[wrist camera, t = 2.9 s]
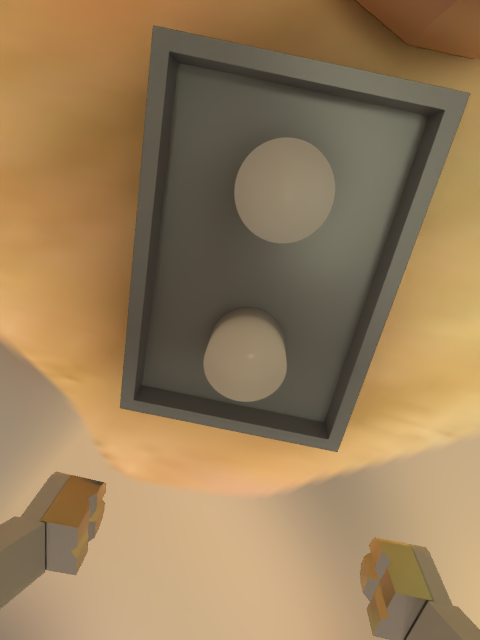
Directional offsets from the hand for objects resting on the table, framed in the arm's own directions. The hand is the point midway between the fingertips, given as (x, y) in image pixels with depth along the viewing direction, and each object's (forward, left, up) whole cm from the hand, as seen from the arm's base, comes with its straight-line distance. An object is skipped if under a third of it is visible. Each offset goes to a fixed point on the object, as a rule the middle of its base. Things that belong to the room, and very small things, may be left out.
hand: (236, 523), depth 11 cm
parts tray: (0, +5, -14) cm, 14 cm away
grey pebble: (0, +9, -13) cm, 16 cm away
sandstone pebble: (0, 0, -13) cm, 13 cm away
